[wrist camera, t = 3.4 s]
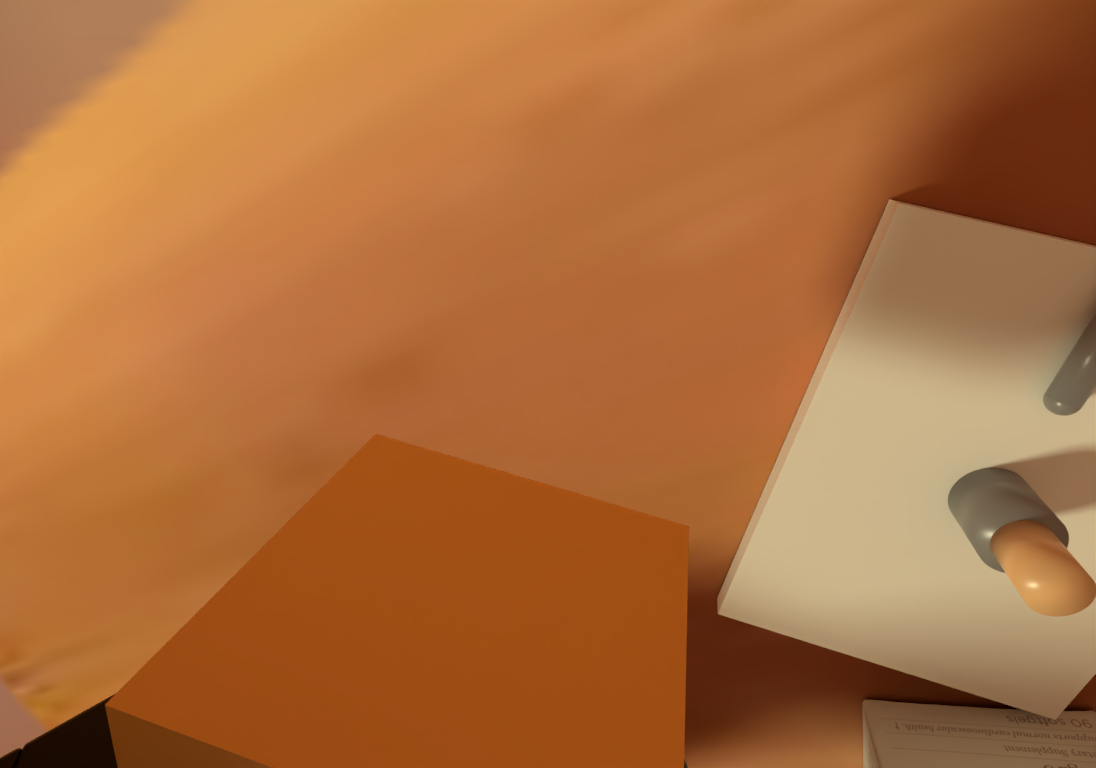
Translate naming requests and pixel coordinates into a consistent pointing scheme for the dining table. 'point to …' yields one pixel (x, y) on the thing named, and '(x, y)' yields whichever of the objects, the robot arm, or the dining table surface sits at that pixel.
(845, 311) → the cream base plate
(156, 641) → the dining table surface
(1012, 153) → the dining table surface
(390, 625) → the orange domed cube
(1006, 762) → the supplement box
